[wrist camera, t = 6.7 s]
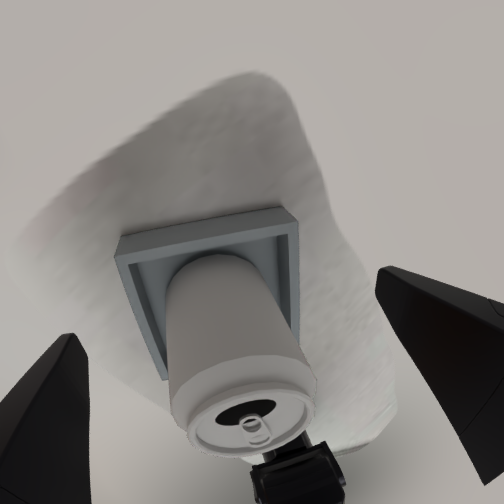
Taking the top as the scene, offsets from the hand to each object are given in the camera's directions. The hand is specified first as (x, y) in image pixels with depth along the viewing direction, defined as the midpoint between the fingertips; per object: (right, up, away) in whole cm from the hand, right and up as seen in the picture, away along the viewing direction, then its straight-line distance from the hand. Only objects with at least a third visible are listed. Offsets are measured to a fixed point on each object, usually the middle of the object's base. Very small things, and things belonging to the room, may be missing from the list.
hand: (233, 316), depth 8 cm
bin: (-2, -1, +15) cm, 15 cm away
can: (-2, -1, +15) cm, 15 cm away
